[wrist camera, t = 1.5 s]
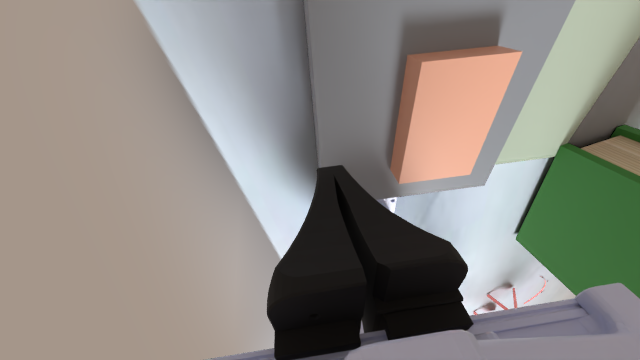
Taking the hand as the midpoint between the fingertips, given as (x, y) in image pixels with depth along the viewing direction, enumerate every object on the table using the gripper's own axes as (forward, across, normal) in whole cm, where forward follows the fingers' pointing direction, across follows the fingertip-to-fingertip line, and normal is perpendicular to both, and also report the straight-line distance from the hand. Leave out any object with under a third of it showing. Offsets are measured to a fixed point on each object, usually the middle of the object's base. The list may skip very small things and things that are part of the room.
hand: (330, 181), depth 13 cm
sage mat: (+10, -22, 0) cm, 24 cm away
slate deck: (+10, -8, 0) cm, 13 cm away
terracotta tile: (+6, -9, 0) cm, 11 cm away
